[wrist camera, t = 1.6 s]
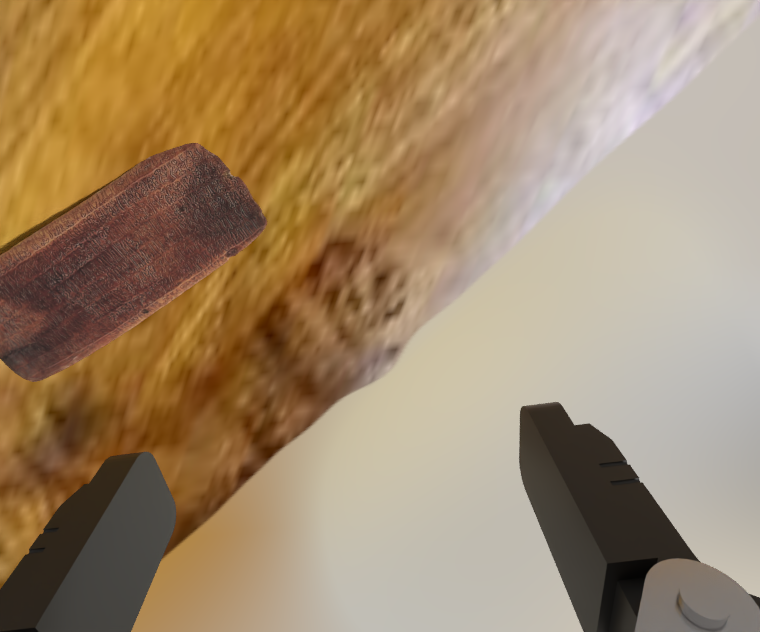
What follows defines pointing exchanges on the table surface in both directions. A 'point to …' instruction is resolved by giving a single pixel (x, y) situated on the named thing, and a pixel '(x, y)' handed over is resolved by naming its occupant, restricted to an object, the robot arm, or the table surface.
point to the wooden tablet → (120, 258)
